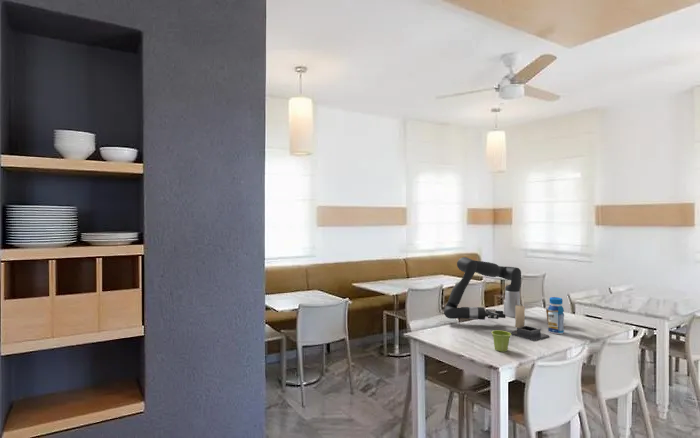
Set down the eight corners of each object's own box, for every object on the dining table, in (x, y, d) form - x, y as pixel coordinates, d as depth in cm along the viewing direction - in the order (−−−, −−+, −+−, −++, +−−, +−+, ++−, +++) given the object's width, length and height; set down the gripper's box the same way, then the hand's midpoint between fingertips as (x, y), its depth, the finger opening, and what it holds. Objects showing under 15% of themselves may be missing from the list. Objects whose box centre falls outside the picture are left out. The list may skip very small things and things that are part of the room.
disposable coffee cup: (565, 327, 245) (565, 307, 245) (549, 327, 245) (549, 307, 245) (557, 323, 255) (557, 304, 255) (542, 323, 255) (542, 304, 255)
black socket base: (508, 334, 232) (508, 327, 232) (523, 330, 240) (523, 323, 240) (534, 341, 219) (534, 333, 219) (549, 337, 226) (549, 329, 226)
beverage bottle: (566, 334, 230) (566, 299, 230) (550, 334, 232) (550, 299, 232) (561, 330, 239) (561, 297, 239) (546, 329, 240) (546, 296, 240)
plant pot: (506, 346, 210) (506, 330, 210) (514, 352, 200) (514, 335, 200) (488, 347, 210) (488, 330, 210) (495, 353, 200) (495, 335, 200)
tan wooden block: (513, 327, 247) (513, 305, 247) (518, 325, 250) (518, 304, 250) (521, 329, 243) (521, 307, 243) (526, 327, 245) (526, 306, 245)
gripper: (477, 309, 245) (506, 311, 241) (475, 304, 259) (502, 305, 255) (478, 322, 245) (506, 323, 241) (475, 316, 259) (502, 317, 255)
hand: (504, 314), depth 248 cm, fingers open, 8 cm apart
